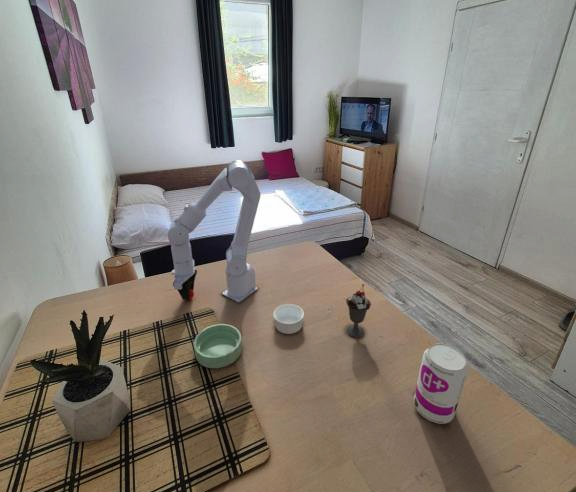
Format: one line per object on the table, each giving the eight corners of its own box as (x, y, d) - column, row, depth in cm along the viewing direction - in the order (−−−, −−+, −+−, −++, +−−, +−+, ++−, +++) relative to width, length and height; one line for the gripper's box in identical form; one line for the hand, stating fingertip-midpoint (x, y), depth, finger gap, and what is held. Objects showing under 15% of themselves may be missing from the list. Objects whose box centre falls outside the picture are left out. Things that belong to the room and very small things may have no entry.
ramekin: (268, 330, 93) (268, 318, 91) (280, 312, 100) (280, 300, 99) (297, 339, 90) (297, 327, 88) (307, 319, 97) (308, 307, 95)
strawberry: (189, 294, 109) (188, 283, 107) (197, 298, 107) (195, 287, 105) (180, 299, 106) (178, 288, 104) (187, 303, 104) (186, 293, 102)
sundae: (365, 324, 95) (370, 281, 89) (368, 340, 89) (374, 295, 83) (342, 322, 96) (346, 279, 90) (344, 339, 90) (348, 294, 84)
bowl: (220, 329, 93) (218, 318, 92) (251, 347, 87) (250, 335, 85) (185, 355, 84) (184, 343, 83) (218, 377, 78) (216, 365, 76)
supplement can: (435, 433, 66) (450, 379, 60) (405, 400, 72) (415, 349, 66) (462, 415, 69) (478, 363, 63) (430, 386, 76) (442, 336, 70)
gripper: (177, 247, 107) (182, 282, 113) (161, 271, 94) (168, 309, 99) (198, 248, 107) (203, 282, 113) (185, 271, 94) (191, 309, 99)
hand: (188, 295), depth 106 cm, fingers closed on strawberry, 3 cm apart
